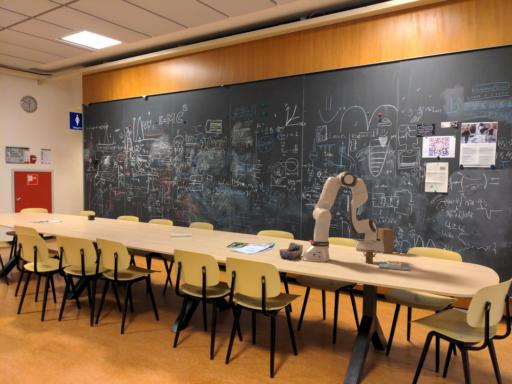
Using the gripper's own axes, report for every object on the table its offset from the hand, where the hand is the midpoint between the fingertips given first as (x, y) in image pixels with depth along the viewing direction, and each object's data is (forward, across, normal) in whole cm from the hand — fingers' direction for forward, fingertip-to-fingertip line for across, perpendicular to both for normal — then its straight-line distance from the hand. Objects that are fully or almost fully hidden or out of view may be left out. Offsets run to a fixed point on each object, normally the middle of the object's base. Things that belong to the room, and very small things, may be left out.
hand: (369, 256), depth 280 cm
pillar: (+3, 0, +4) cm, 5 cm away
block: (-30, +11, +37) cm, 49 cm away
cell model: (+7, -58, 0) cm, 58 cm away
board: (+8, +17, -1) cm, 19 cm away
